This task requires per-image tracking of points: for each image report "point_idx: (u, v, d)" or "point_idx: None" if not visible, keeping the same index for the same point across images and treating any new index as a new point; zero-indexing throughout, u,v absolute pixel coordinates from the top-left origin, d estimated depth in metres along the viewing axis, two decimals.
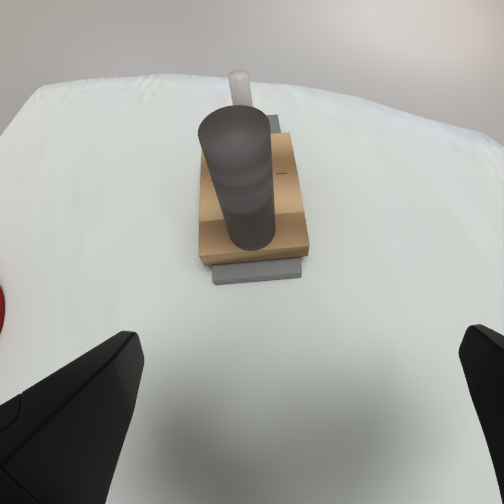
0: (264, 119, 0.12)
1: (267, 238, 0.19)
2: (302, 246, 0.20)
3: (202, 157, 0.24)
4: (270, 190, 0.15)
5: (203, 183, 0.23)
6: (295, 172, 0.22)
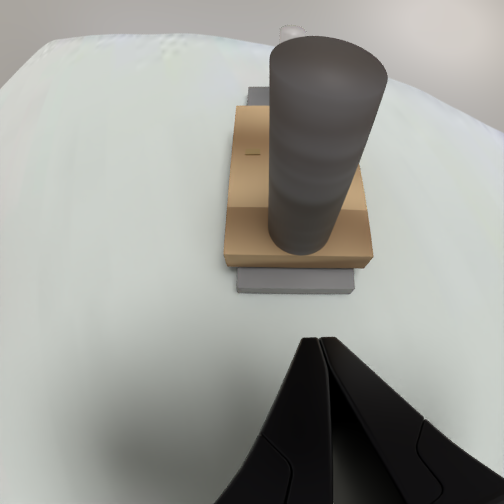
0: (375, 62, 0.07)
1: (323, 241, 0.14)
2: (364, 256, 0.14)
3: (236, 124, 0.18)
4: (354, 174, 0.10)
5: (235, 156, 0.17)
6: None
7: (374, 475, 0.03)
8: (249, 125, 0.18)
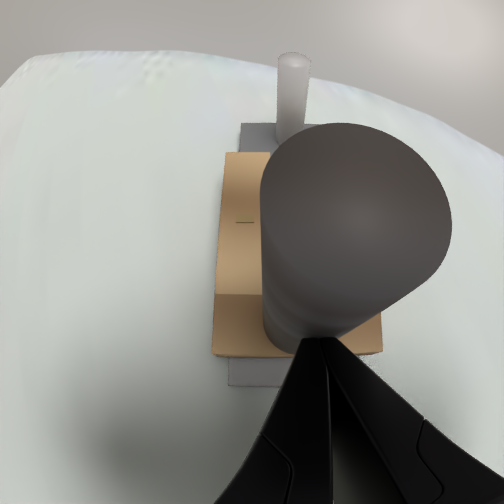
0: (433, 184, 0.04)
1: None
2: (372, 351, 0.12)
3: (225, 179, 0.15)
4: None
5: (224, 225, 0.14)
6: None
7: (374, 475, 0.03)
8: (241, 180, 0.15)
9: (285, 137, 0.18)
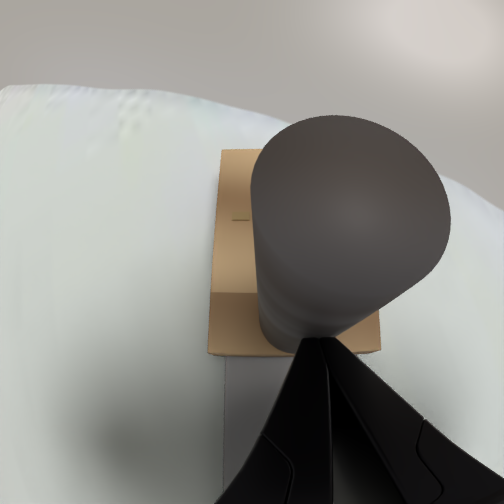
0: (431, 178, 0.04)
1: None
2: (371, 350, 0.12)
3: (220, 176, 0.15)
4: None
5: (220, 223, 0.14)
6: None
7: (374, 475, 0.03)
8: (237, 177, 0.15)
9: None
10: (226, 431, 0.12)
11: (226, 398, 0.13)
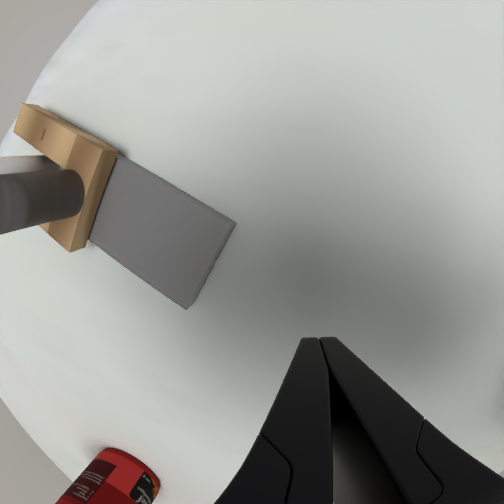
0: None
1: (74, 189, 0.16)
2: (99, 157, 0.16)
3: None
4: (14, 186, 0.12)
5: None
6: (48, 120, 0.16)
7: (374, 475, 0.03)
8: None
9: None
10: (127, 266, 0.19)
11: (109, 254, 0.19)
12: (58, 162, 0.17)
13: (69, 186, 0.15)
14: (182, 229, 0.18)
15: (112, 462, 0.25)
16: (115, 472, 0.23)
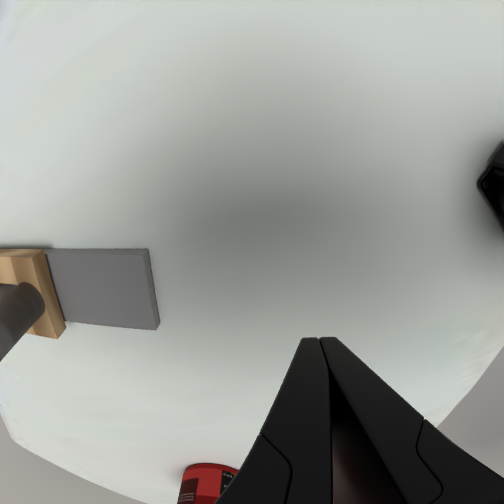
0: None
1: (31, 295, 0.18)
2: (32, 263, 0.18)
3: None
4: None
5: None
6: None
7: (374, 475, 0.03)
8: None
9: None
10: (100, 324, 0.22)
11: (84, 322, 0.22)
12: (11, 282, 0.19)
13: (26, 296, 0.18)
14: (115, 276, 0.21)
15: (194, 476, 0.29)
16: (199, 483, 0.28)
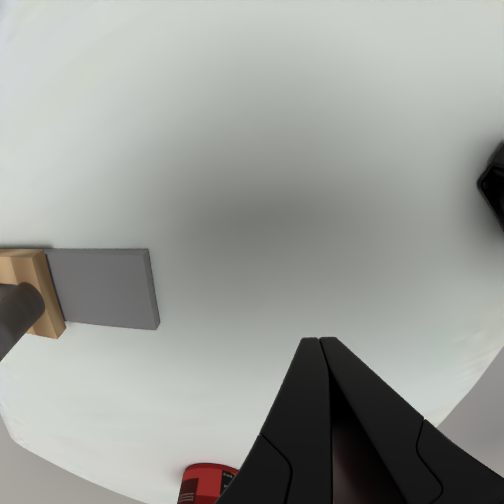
0: None
1: (31, 295, 0.18)
2: (32, 263, 0.18)
3: None
4: None
5: None
6: None
7: (374, 475, 0.03)
8: None
9: None
10: (100, 324, 0.22)
11: (84, 322, 0.22)
12: (11, 282, 0.19)
13: (26, 296, 0.18)
14: (115, 276, 0.21)
15: (194, 476, 0.29)
16: (200, 483, 0.28)
